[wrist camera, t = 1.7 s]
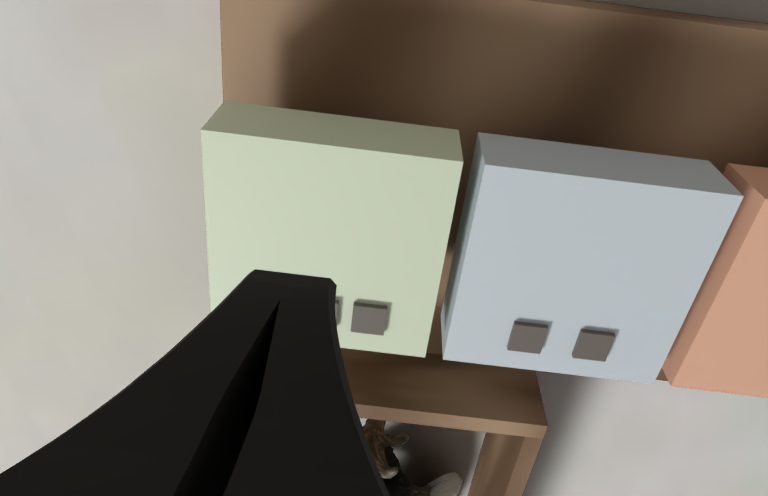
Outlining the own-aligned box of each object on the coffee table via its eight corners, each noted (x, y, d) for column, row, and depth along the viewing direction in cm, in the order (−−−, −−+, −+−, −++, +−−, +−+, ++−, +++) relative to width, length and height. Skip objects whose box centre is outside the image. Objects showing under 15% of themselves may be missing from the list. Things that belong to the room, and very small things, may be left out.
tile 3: (458, 129, 16) (463, 165, 14) (424, 313, 19) (424, 361, 17) (224, 100, 15) (198, 132, 14) (230, 290, 19) (210, 336, 17)
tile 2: (708, 160, 16) (747, 199, 14) (632, 337, 19) (655, 388, 17) (478, 132, 16) (485, 167, 14) (440, 315, 19) (442, 363, 17)
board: (964, 48, 16) (1104, 95, 13) (642, 575, 30) (670, 664, 27) (230, -45, 16) (181, -22, 13) (244, 531, 30) (221, 615, 27)
